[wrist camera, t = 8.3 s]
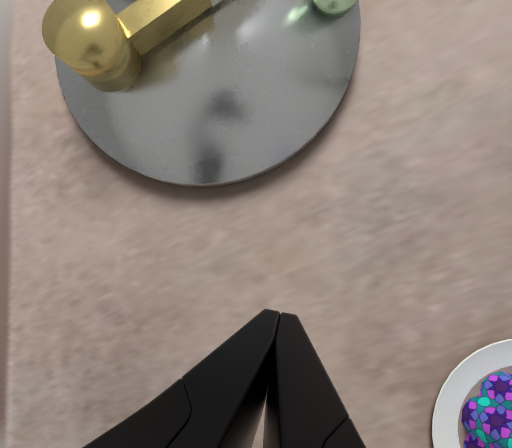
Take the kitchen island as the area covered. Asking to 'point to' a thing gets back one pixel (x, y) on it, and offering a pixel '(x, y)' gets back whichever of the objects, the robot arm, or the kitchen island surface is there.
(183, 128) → the base
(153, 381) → the kitchen island surface
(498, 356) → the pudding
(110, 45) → the lever
